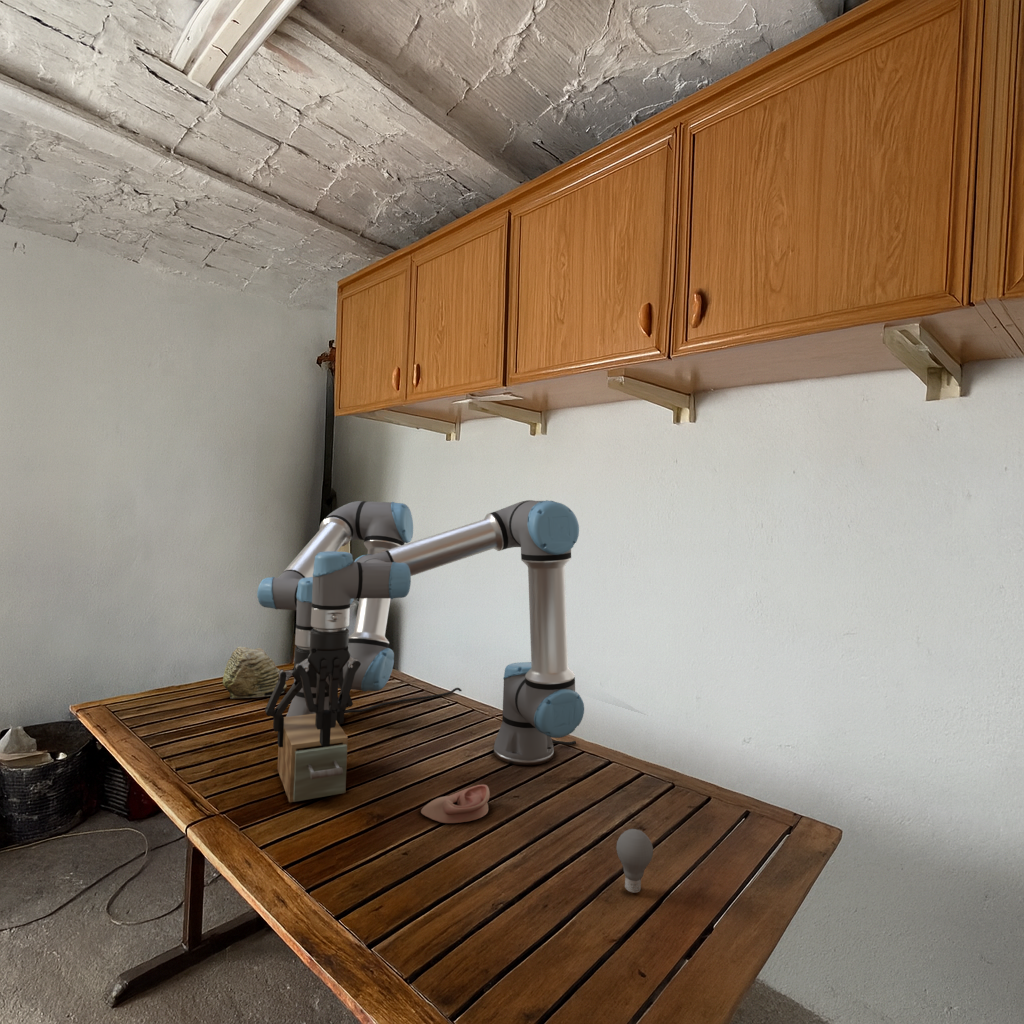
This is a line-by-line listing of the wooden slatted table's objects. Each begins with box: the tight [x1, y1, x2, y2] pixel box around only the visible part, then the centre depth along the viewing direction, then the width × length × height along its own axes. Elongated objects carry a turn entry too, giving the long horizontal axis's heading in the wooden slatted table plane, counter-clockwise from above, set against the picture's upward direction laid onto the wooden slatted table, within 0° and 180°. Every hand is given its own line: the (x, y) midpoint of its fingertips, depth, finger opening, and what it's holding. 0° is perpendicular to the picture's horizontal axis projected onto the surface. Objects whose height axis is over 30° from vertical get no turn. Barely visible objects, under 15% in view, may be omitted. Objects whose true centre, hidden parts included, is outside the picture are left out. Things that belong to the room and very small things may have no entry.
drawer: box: [293, 743, 348, 803], centre depth 136 cm, size 21×10×10 cm, turn 28°
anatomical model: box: [420, 784, 491, 824], centre depth 130 cm, size 13×4×12 cm
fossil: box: [222, 646, 288, 699], centre depth 198 cm, size 9×18×15 cm, turn 132°
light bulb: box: [615, 828, 654, 894], centre depth 106 cm, size 6×6×10 cm
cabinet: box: [277, 714, 349, 804], centre depth 141 cm, size 17×12×12 cm
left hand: (308, 741), depth 144 cm, fingers closed on cabinet, 12 cm apart
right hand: (324, 743), depth 129 cm, fingers closed
